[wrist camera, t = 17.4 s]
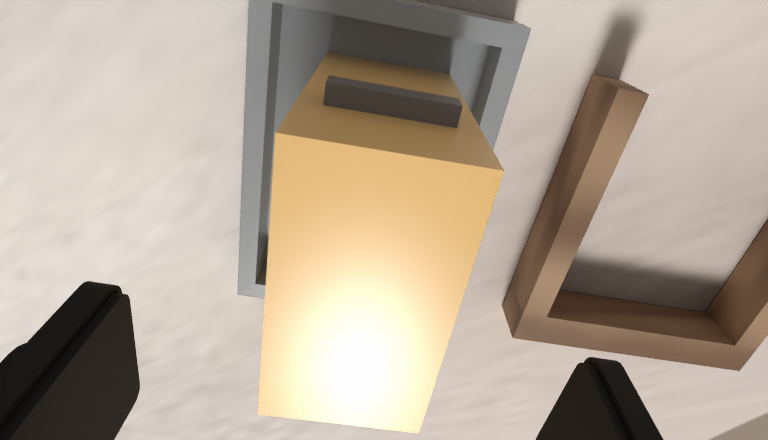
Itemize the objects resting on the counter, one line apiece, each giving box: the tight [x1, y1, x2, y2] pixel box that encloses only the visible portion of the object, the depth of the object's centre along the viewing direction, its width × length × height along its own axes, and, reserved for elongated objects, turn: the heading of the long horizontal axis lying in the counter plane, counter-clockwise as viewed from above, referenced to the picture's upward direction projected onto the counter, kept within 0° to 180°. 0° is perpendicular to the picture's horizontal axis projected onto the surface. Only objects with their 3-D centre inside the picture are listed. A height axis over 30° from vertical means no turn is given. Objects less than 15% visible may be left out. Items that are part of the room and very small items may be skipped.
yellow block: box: [258, 52, 504, 433], centre depth 16 cm, size 10×5×10 cm, turn 170°
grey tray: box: [237, 0, 531, 299], centre depth 20 cm, size 14×10×2 cm
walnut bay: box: [502, 75, 768, 371], centre depth 22 cm, size 13×12×2 cm
